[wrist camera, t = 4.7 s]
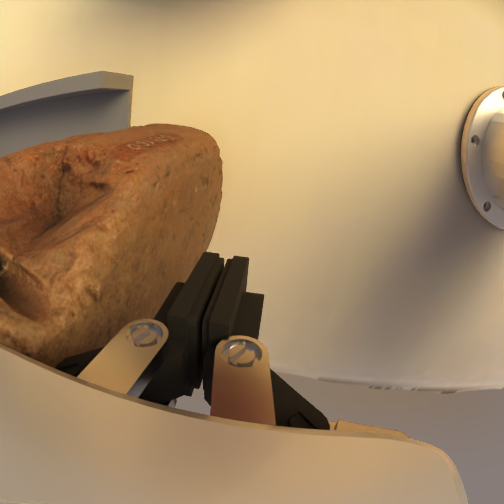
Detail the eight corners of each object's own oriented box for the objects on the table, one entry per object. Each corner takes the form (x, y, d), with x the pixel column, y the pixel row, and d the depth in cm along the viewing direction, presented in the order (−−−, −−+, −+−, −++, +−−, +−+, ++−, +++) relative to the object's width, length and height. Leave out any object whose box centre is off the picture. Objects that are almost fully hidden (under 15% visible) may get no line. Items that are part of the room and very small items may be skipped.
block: (207, 265, 25) (82, 494, 7) (129, 236, 25) (-41, 400, 7) (245, 137, 20) (-25, 270, 2) (152, 112, 20) (-121, 170, 2)
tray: (133, 75, 19) (102, 71, 15) (135, 282, 27) (114, 308, 23) (-26, 111, 21) (-52, 117, 17) (-12, 246, 29) (-33, 260, 25)
